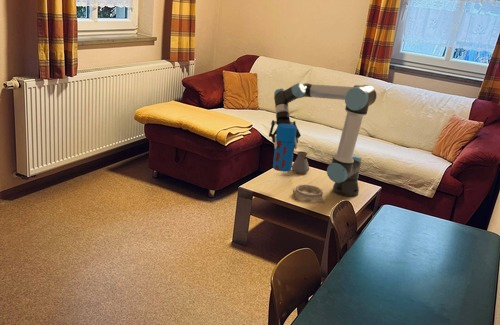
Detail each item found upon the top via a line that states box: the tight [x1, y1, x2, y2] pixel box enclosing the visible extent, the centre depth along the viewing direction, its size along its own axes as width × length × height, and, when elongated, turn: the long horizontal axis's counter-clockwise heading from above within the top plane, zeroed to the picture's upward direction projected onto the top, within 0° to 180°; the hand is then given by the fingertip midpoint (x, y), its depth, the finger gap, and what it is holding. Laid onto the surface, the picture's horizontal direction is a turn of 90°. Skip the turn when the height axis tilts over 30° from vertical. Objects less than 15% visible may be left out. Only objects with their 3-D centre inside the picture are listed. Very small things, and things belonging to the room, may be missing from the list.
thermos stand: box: [293, 184, 325, 204], centre depth 275 cm, size 16×16×4 cm
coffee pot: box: [291, 151, 310, 175], centre depth 307 cm, size 21×12×15 cm, turn 4°
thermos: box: [272, 124, 297, 173], centre depth 273 cm, size 11×11×25 cm
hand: (285, 147), depth 270 cm, fingers closed on thermos, 11 cm apart
